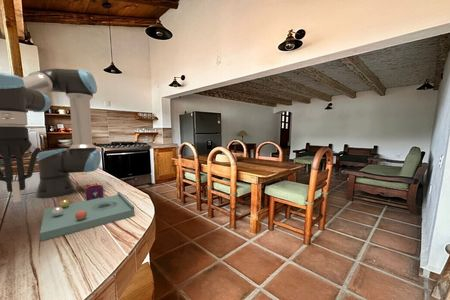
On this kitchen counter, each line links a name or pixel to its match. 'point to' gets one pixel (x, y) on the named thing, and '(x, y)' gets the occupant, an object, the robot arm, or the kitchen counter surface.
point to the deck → (96, 215)
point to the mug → (94, 192)
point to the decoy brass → (64, 203)
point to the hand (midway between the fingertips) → (17, 200)
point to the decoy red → (81, 214)
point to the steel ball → (57, 211)
